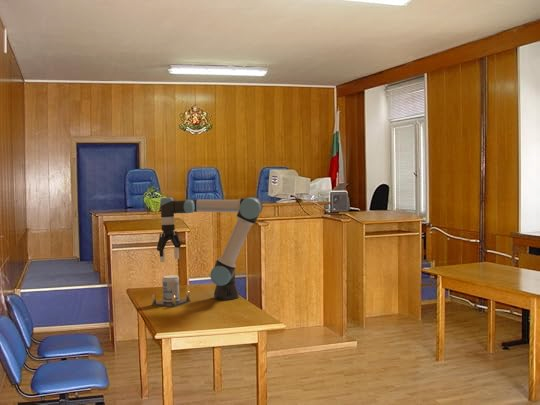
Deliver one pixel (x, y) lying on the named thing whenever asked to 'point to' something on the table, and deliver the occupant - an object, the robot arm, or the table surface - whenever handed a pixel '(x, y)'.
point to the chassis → (173, 303)
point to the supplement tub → (170, 288)
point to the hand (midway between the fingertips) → (169, 260)
